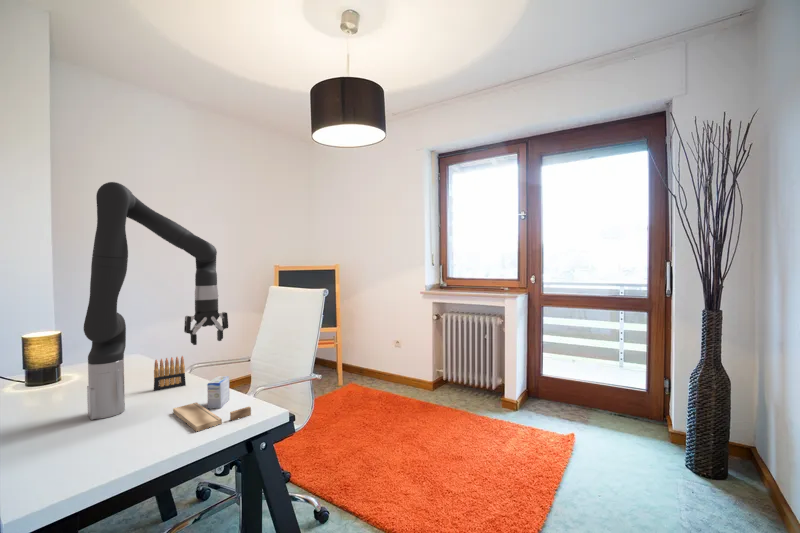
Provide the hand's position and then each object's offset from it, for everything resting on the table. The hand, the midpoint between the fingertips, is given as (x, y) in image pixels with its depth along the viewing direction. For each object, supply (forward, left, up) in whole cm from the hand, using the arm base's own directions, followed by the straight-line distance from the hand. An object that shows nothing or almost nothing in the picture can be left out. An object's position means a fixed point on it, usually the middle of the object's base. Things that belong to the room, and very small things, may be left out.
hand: (207, 342), depth 135 cm
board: (-10, -17, -20) cm, 28 cm away
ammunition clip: (-6, +24, -20) cm, 32 cm away
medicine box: (0, -10, -20) cm, 23 cm away
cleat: (0, -27, -20) cm, 33 cm away
